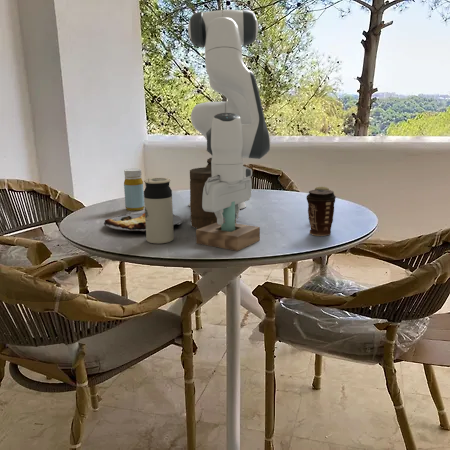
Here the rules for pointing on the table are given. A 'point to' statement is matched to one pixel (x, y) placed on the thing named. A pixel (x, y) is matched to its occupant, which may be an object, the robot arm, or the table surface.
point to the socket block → (228, 236)
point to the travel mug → (158, 210)
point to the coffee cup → (320, 211)
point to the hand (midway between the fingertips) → (228, 221)
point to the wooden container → (200, 197)
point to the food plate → (132, 222)
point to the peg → (229, 218)
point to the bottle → (133, 190)
